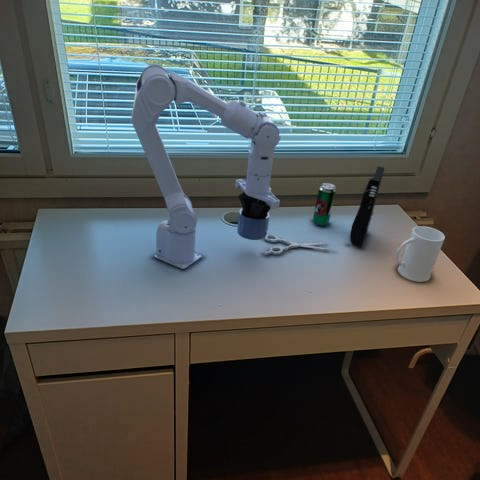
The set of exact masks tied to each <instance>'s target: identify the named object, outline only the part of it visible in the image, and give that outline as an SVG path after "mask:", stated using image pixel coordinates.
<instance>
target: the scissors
mask: <svg viewBox="0 0 480 480" xmlns="http://www.w3.org/2000/svg"><path fill="white" fill-rule="evenodd" d="M264 239H265V241H267V242H268V243H269V242H270V243H276V242H277V243H278V242H279V243H284V244H286V245H287V246H284V247H283V246H282V247H281V246H276V245H275V246H272V247H270V248H269V250H268V251H264V256H268V255H271V254H272V255H281V254H282V253H283V252H284V251H288V250H290V249H296V248H307V249H308V248H309V249H317V250H325V251H326V250H327V251H332V249H330V248H325V247H319V246H314V245H324V242H303V243H301V242H295V241H289V240H286V239H282V238H279V237H278V236H276V235H274V234H267V236H266V237H265V238H264Z"/></svg>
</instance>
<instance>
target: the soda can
mask: <svg viewBox="0 0 480 480" xmlns="http://www.w3.org/2000/svg"><path fill="white" fill-rule="evenodd" d="M336 188H337V187H336V185H334V184H332V183H328V182H323V183H321V184H320V186H319V187H318V193H317V197H316V202H315V207H314V211H313V217H312V222H313V224H314V225H316V226H319V227H326V226H328V225H329V223H330V220H331V215H332V211H333V206H334V203H335V199H336V194H337V190H336Z"/></svg>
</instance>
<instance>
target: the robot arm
mask: <svg viewBox="0 0 480 480" xmlns="http://www.w3.org/2000/svg"><path fill="white" fill-rule="evenodd" d="M173 101H174V104H175V105H181V104H184V103H187V102H188V103H190V104H192V105H195V106H196V107H199V108H201V109H203V110H205V111H207V112H209V113H211V114H213V115H215V116H217V117H219V118H220V121H221V124H222V126H223V127H225V128H226V129H228V130H230V131H231V132H233V133H236V134H237V135H240V136H241V137H244V139H247V140H250V147H249V153H248V163H247V171H246V180H245V179H243V178H239V179H235V185H234V187H235V189H240V190H242V193H239V194H238V199H239V202H240V205H241V207H242V208H243V212H244V216H245V217H248V218H249V214H250V207H253V214H254V218H253V219H263V218H265V217H266V215H267V213H268V212H269V213H270V211H271V210H277V209H279V208H280V203H281V200H280V199H279V198H277V197H276V196H275V195H274V193H273V192H272V188H271V187H270V185H271V179H272V171H273V170H272V169H273V165H274V156H275V150H276V149H275V148H276V147H277V145H278V144H279V143H280V141H281V135H280V129H279V128H278V126H277V125H276V124H275V122H273V121H272V119H270V118H269V117H268V116H267V114H264V113H263V112H261V111H259V112H257V111H255V110H253V109H252V108H250V107H248V106H247V103H246V102H245V101H244V100H242V99H240V100H239V101H237V100H235V99H233V100H229V101H224V100H223V99H221V98H219V97H218V96H216V95H215V94H213V93H211V92H210V91H208V90H206V89H205V88H203V87H201V86H200V85H198V84H197V83H195V82H193V81H192V80H190V79H189V78H187V77H185V76H183V75H180V74H178V73H177V72H174V71H172V70H168V71H167V70H166V68H164V67H163V66H162V65H158V64H151V65H148V66H146V67H145V68H144V69H143V70H142V72H141V73H140V75H139V77H138V79H137V81H136V83H135V91H134V98H133V104H132V109H131V123H132V127H133V129H134V131H135V133H136V136H137V138H138V140H139V143H140V145H141V147H142V151H143V152H144V155H145V157H146V158H147V161H148V163H149V166H150V168H151V170H152V173H153V175H154V178H155V179H156V181H157V184H158V187H159V189H160V192H161V194H162V197H163V198H164V202H165V204H166V211H167V214H168V219H167V220H163V221H162V222H160V224H159V225H158V226H157V229H156V233H155V234H156V235H155V244H156V248H155V250H156V251H155V253H156V254H154V259H157V260H160V261H162V262H164V263H167V264H169V265H172V266H175V267H177V268H179V269H182V270H185V269H187V268H188V267H190V266H191V265H193V264H194V263H196V262H197V261H198V260H200V259H202V255H201V254H198V253H196V236H197V235H196V234H197V233H196V232H197V229H196V228H197V225H198V219H197V216H196V214H195V211H194V208H193V203H192V201H191V199H190V198H189V196H187V195H186V194H185V193H184V191H183V188H182V186H181V184H180V181H179V179H178V177H177V174H176V171H175V168H174V166H173V164H172V161H171V159H170V157H169V154H168V151H167V149H166V146H165V144H164V142H163V139H162V136H161V133H160V131H159V129H158V126H157V122H158V121H159V118H160V116H161V115H162V113H163V112H164V111H165V110H166V109H167V108H168V107H169V106H170V105H171V104H172V103H173ZM242 208H241V209H242Z"/></svg>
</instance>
